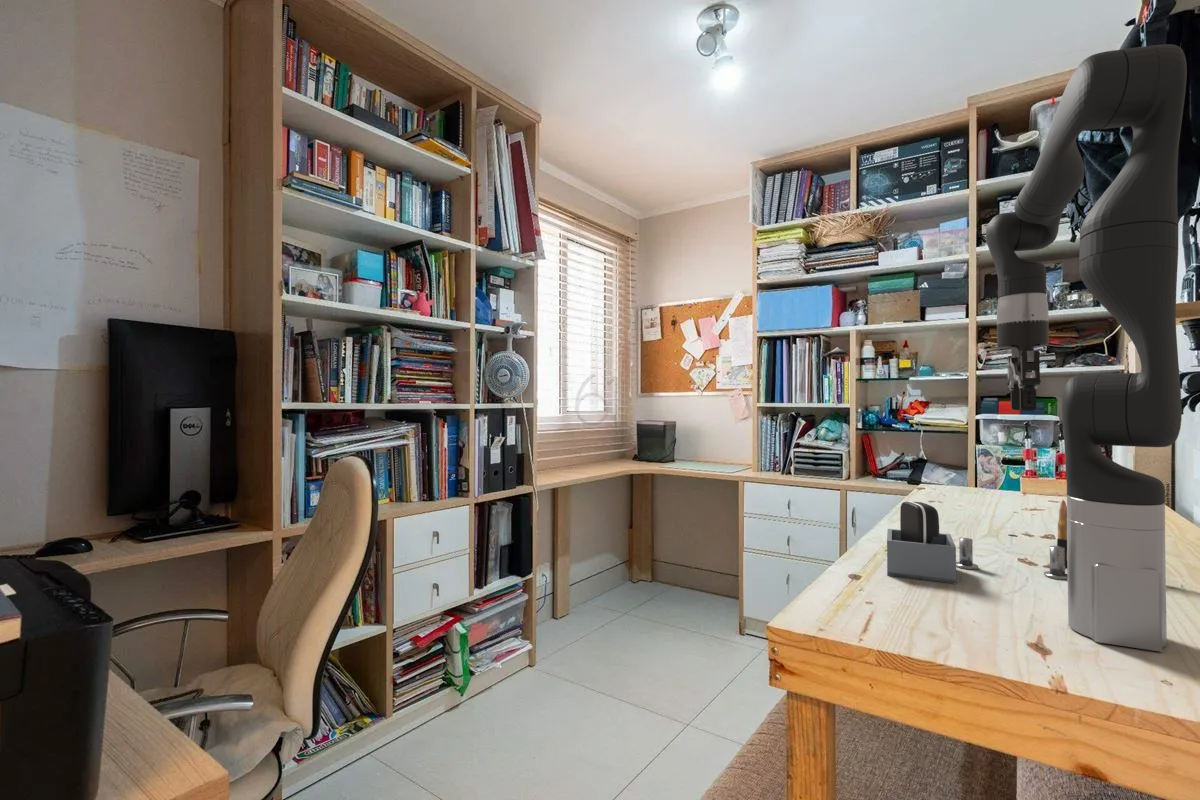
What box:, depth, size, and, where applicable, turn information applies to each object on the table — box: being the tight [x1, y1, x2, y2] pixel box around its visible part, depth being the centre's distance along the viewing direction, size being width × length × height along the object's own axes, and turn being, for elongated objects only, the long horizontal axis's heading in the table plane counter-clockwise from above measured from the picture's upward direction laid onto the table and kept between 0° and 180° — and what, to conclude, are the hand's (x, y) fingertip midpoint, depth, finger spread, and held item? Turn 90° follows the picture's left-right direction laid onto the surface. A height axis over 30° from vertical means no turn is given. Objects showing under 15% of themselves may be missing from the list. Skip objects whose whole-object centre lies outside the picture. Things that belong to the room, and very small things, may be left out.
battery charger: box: [899, 500, 940, 544], centre depth 98 cm, size 7×4×11 cm, turn 177°
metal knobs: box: [956, 537, 1068, 581], centre depth 97 cm, size 4×17×5 cm, turn 62°
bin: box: [886, 528, 957, 584], centre depth 98 cm, size 10×10×6 cm
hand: (1023, 410), depth 101 cm, fingers open, 8 cm apart
